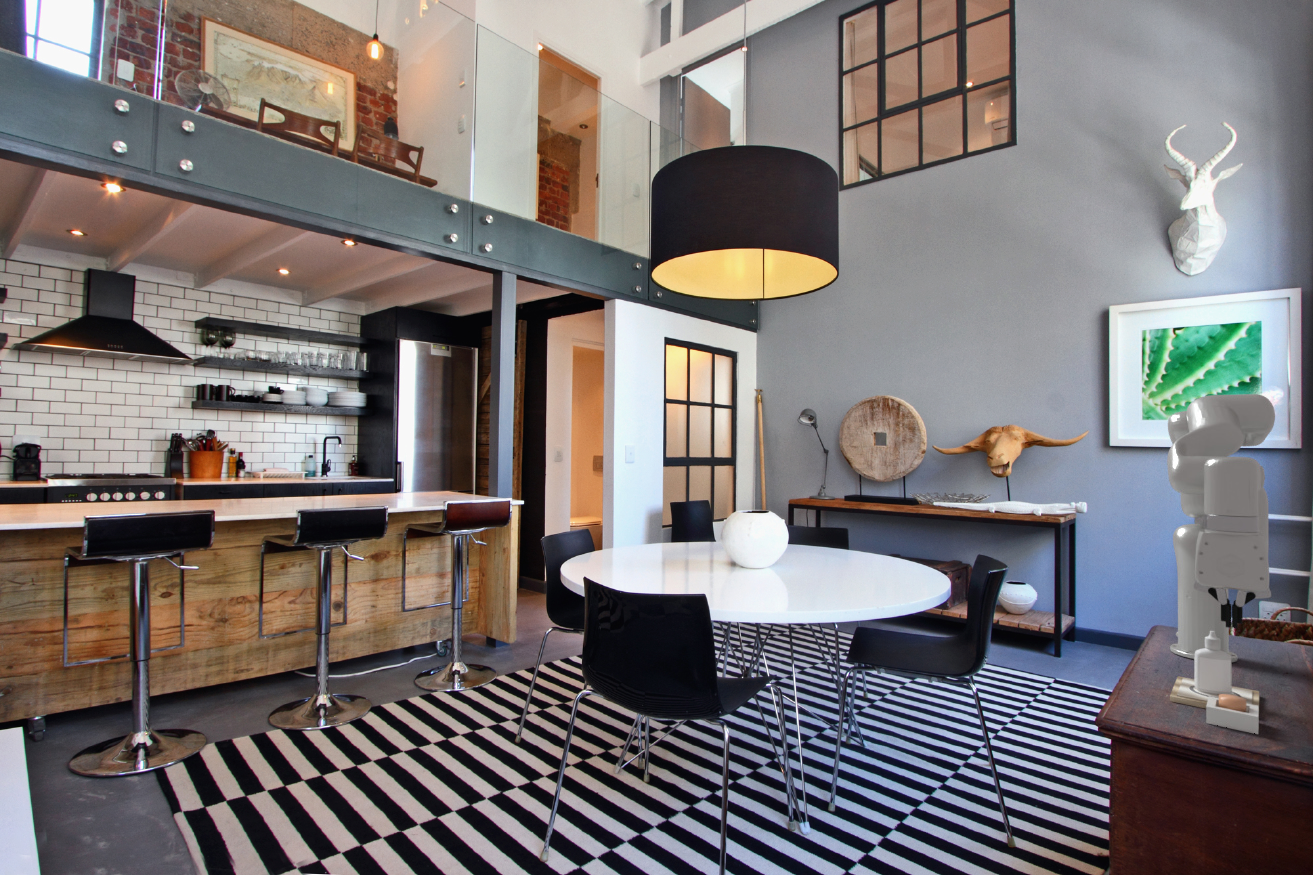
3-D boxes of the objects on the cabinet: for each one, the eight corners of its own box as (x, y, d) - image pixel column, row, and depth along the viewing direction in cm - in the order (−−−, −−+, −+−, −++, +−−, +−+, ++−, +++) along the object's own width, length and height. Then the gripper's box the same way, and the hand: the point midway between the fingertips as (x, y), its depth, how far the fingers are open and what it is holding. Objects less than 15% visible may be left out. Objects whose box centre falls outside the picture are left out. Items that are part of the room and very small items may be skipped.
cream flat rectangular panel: (1177, 680, 144) (1177, 674, 144) (1259, 696, 135) (1259, 689, 135) (1169, 701, 132) (1169, 694, 132) (1258, 719, 123) (1258, 712, 124)
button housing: (1208, 712, 127) (1208, 696, 127) (1258, 722, 122) (1258, 705, 122) (1206, 723, 121) (1206, 706, 122) (1258, 734, 117) (1258, 716, 117)
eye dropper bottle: (1228, 698, 130) (1227, 636, 131) (1192, 690, 135) (1191, 629, 135) (1233, 693, 133) (1233, 632, 133) (1198, 685, 138) (1197, 626, 138)
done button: (1219, 704, 124) (1219, 692, 125) (1246, 710, 122) (1246, 697, 122) (1218, 710, 122) (1218, 697, 122) (1246, 716, 119) (1246, 703, 119)
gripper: (1177, 523, 125) (1177, 623, 124) (1287, 530, 115) (1288, 638, 114) (1181, 520, 130) (1181, 616, 130) (1286, 527, 120) (1287, 630, 120)
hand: (1231, 626), depth 122 cm, fingers closed
